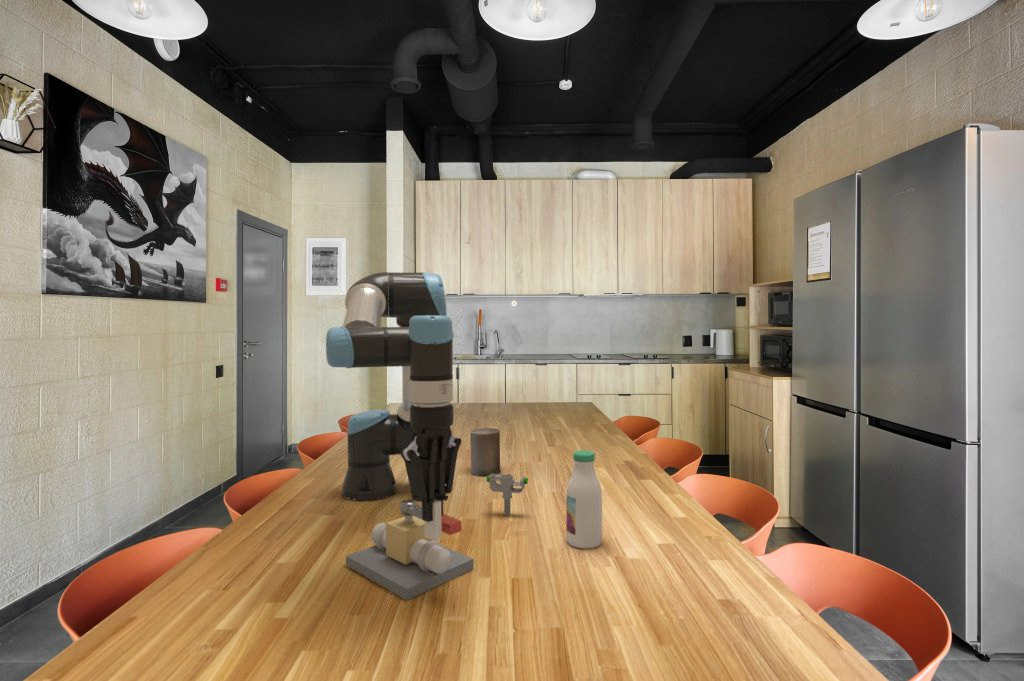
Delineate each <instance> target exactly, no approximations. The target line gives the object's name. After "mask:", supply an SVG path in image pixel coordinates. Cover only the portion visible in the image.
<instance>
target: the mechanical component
mask: <svg viewBox="0 0 1024 681" xmlns="http://www.w3.org/2000/svg"><path fill="white" fill-rule="evenodd" d="M497 481H499V483H498V482H497ZM486 482H487V483H489V489H490V490H491V492H496V493H502V496H501V498H503V506H504V507H503V510H504V511H503V514H504V517H510V515H511V499H513V494H520V493H522V492H523V491H524V489H525V487H526V485H528V482H529V480H528V477H526V476H521V477H520V480H519V481H516V479H515V478H514V475H513V474H507V473H506V474H505V473H499V474H491V475H490V476H486ZM514 486H515V487H514ZM517 487H519V488H517ZM520 487H521V488H520Z"/></svg>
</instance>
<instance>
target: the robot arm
mask: <svg viewBox="0 0 1024 681" xmlns="http://www.w3.org/2000/svg"><path fill="white" fill-rule="evenodd" d="M446 302H447V301H446V294H445V288H444V281H443V279H442V277H441V275H439V274H437V273H431V272H430V273H428V272H425V271H423V272H393V271H392V272H390V271H389V272H388V271H380V272H376V273H372V274H369V275H367V276H364V277H363V278H361V279H359V280H357V281H356V282H354V283H353V284H352V285H351V286H350V287H349V289H348V290H347V292H346V294H345V299H344V305H345V309H346V312H345V316H344V319H343V324H342V326H339V327H331V328H329V329H328V330H327V332H326V336H325V337H326V340H325V352H326V354H325V355H326V362H327V364H328V365H329V366H330V367H332V368H346V369H352V368H355V369H356V368H382V367H389V368H390V367H391V368H393V367H402V369H401V370H402V379H401V380H402V386H401V387H402V391H401V392H402V393H401V394H402V395H401V396H402V400H401V401H402V404H401V405H400V406H398V408H397V411H396V413H395V414H391V413H390V410H389V409H386V408H383V409H381V408H379V409H372V410H367V411H362V412H359V413H355V414H353V415H352V416H350V417H349V419H348V421H347V429H346V430H347V431H346V435H347V468H346V473H345V476H344V478H343V482H342V485H341V496H342V495H343V496H344V497H346V498H350V499H355V500H354V501H357V500H367V501H373V500H372V499H376V500H380V499H379V498H381V499H384V498H383V497H385V498H387V497H386V496H388V497H390V496H392V495H394V494H395V493H396V492H397V481H396V478H395V476H394V473H393V469H392V467H391V463H390V462H391V460H390V459H391V458H390V456H397V455H398V456H401V458H402V459H403V461H404V463H405V464H404V465H405V469H406V474H407V480H408V483H409V484H408V485H409V489H410V493H411V500H416V501H417V502H419V503H421V507H422V519H423V520H424V532H425V537H426V538H429V539H432V540H433V541H439V539H442V531H441V517H442V516H443V514H444V501H447V500H448V498H449V495H447V494H451V493H452V490H453V484H454V479H455V472H456V467H457V465H456V464H457V457H458V453H459V449H460V446H461V444H462V439H461V438H460V437H455V436H454V435H453V432H452V429H451V427H452V426H453V424H454V405H453V404H452V403H451V402H453V401H454V374H453V372H454V371H453V369H454V368H453V366H454V365H453V363H454V362H453V361H454V360H453V357H454V355H453V348H454V347H453V340H454V339H453V338H454V331H453V320H452V318H451V317H450V316H448V315H447V303H446ZM382 318H395V320H396V325H397V326H382ZM395 491H396V492H395ZM394 492H395V493H394ZM393 493H394V494H393ZM391 494H392V495H391ZM389 495H390V496H389ZM343 496H342V497H343ZM344 497H343V498H344ZM346 498H345V499H346Z"/></svg>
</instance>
